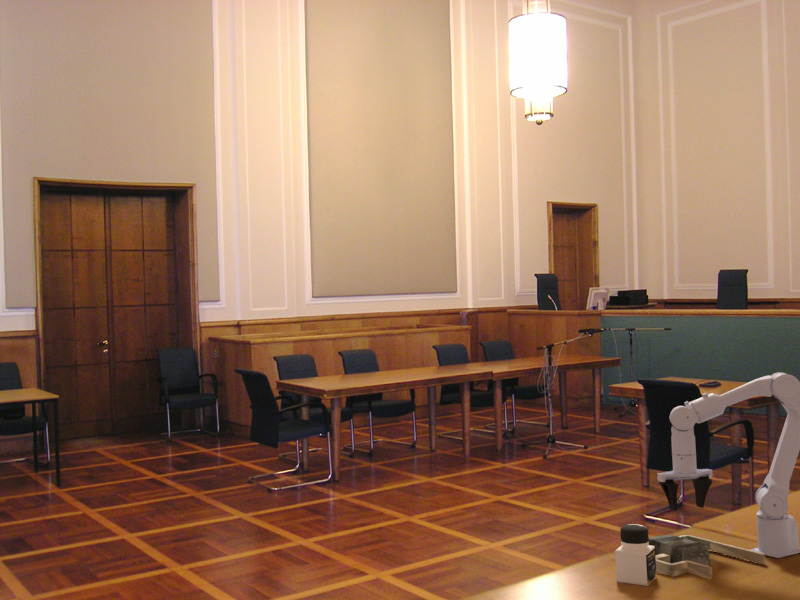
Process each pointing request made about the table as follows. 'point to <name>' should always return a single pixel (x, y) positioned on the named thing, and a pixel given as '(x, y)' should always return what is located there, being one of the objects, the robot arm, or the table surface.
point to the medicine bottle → (635, 556)
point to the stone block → (680, 549)
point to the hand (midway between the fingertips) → (686, 508)
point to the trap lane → (699, 569)
